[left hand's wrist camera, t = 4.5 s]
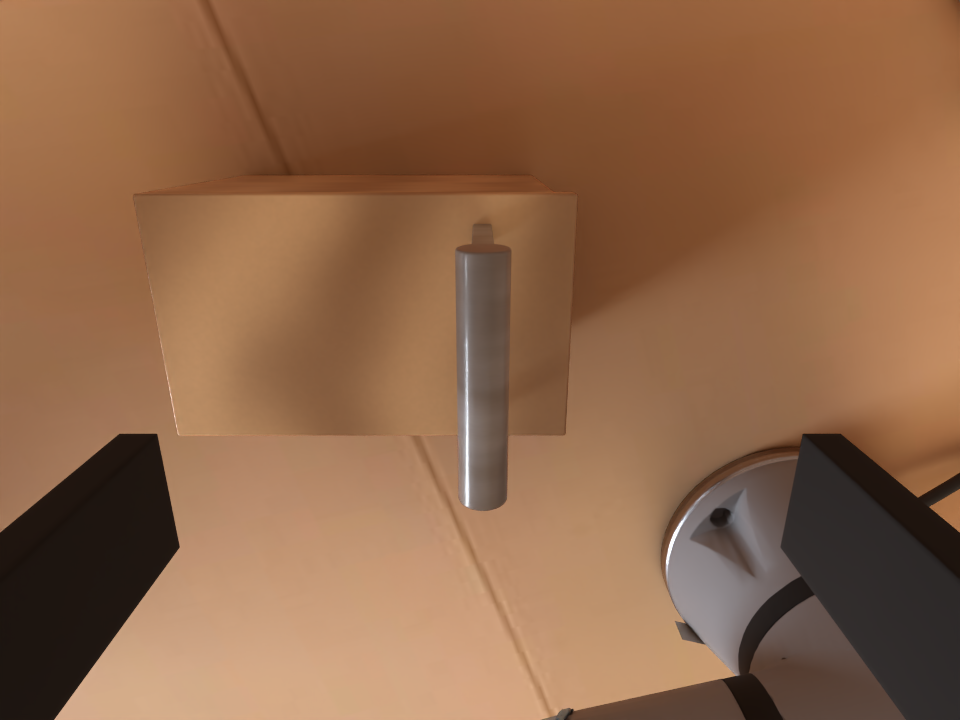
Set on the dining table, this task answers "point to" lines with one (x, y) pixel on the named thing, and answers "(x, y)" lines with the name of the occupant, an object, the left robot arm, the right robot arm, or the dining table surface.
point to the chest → (368, 183)
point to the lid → (367, 316)
